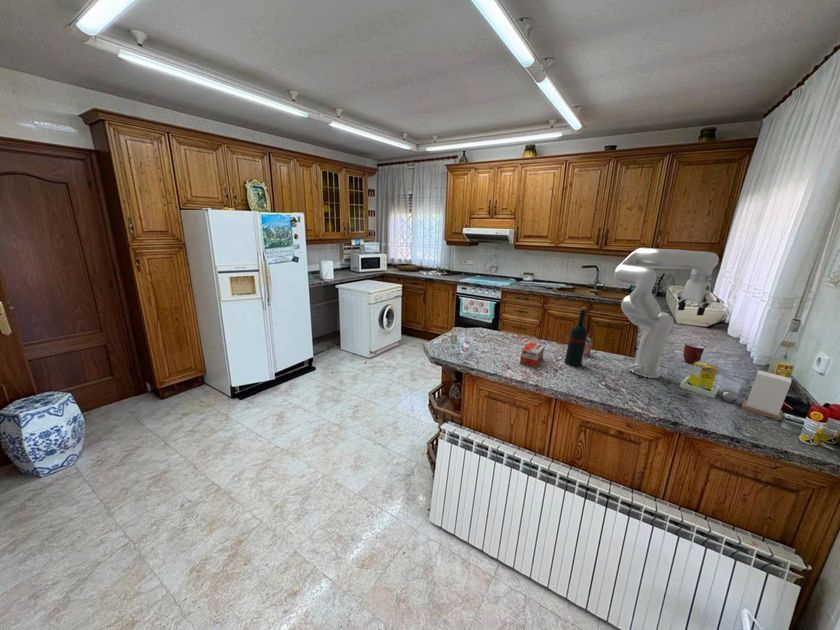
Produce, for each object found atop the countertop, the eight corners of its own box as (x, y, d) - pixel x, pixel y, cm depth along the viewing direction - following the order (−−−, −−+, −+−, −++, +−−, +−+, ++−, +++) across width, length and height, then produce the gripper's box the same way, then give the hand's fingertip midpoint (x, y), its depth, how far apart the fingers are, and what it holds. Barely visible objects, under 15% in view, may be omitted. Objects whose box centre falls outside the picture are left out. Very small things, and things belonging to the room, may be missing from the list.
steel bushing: (729, 404, 133) (732, 395, 132) (716, 398, 138) (719, 389, 137) (738, 403, 134) (741, 395, 133) (725, 397, 139) (728, 389, 138)
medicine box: (535, 368, 158) (538, 353, 156) (519, 363, 163) (521, 349, 160) (542, 358, 171) (545, 344, 169) (527, 355, 175) (529, 341, 173)
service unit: (780, 421, 122) (795, 384, 118) (740, 408, 130) (753, 373, 126) (781, 414, 128) (795, 378, 124) (743, 402, 136) (755, 368, 131)
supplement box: (710, 391, 143) (718, 368, 140) (696, 389, 144) (703, 367, 141) (701, 385, 149) (708, 363, 146) (687, 383, 149) (693, 361, 146)
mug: (706, 368, 171) (712, 350, 168) (690, 366, 172) (695, 349, 169) (691, 360, 181) (696, 343, 179) (677, 359, 182) (681, 342, 179)
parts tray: (714, 398, 138) (715, 393, 137) (679, 387, 146) (680, 383, 146) (718, 390, 145) (719, 386, 145) (685, 380, 154) (686, 376, 154)
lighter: (577, 351, 184) (580, 335, 182) (582, 351, 185) (586, 335, 182) (585, 357, 177) (589, 339, 174) (591, 357, 177) (594, 340, 174)
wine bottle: (579, 360, 171) (590, 305, 163) (582, 367, 162) (594, 310, 154) (563, 358, 173) (573, 303, 165) (565, 365, 164) (576, 308, 156)
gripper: (725, 281, 148) (714, 317, 152) (688, 275, 164) (679, 308, 168) (711, 281, 146) (701, 317, 151) (676, 275, 163) (667, 308, 167)
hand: (689, 312), depth 160 cm, fingers open, 9 cm apart
